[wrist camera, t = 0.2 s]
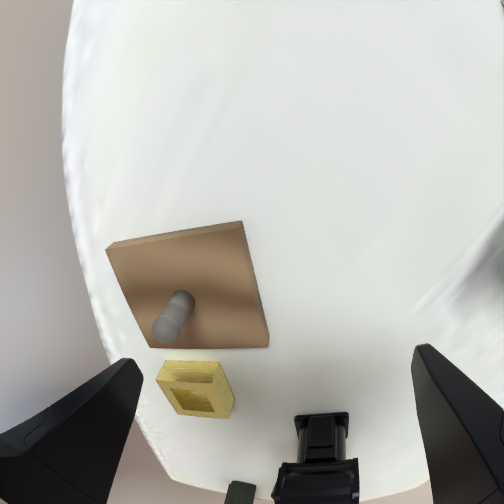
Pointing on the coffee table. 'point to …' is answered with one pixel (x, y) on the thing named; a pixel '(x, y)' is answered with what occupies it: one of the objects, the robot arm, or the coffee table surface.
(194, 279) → the brown base plate
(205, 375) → the brass square frame
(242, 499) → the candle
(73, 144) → the coffee table surface
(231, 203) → the coffee table surface
